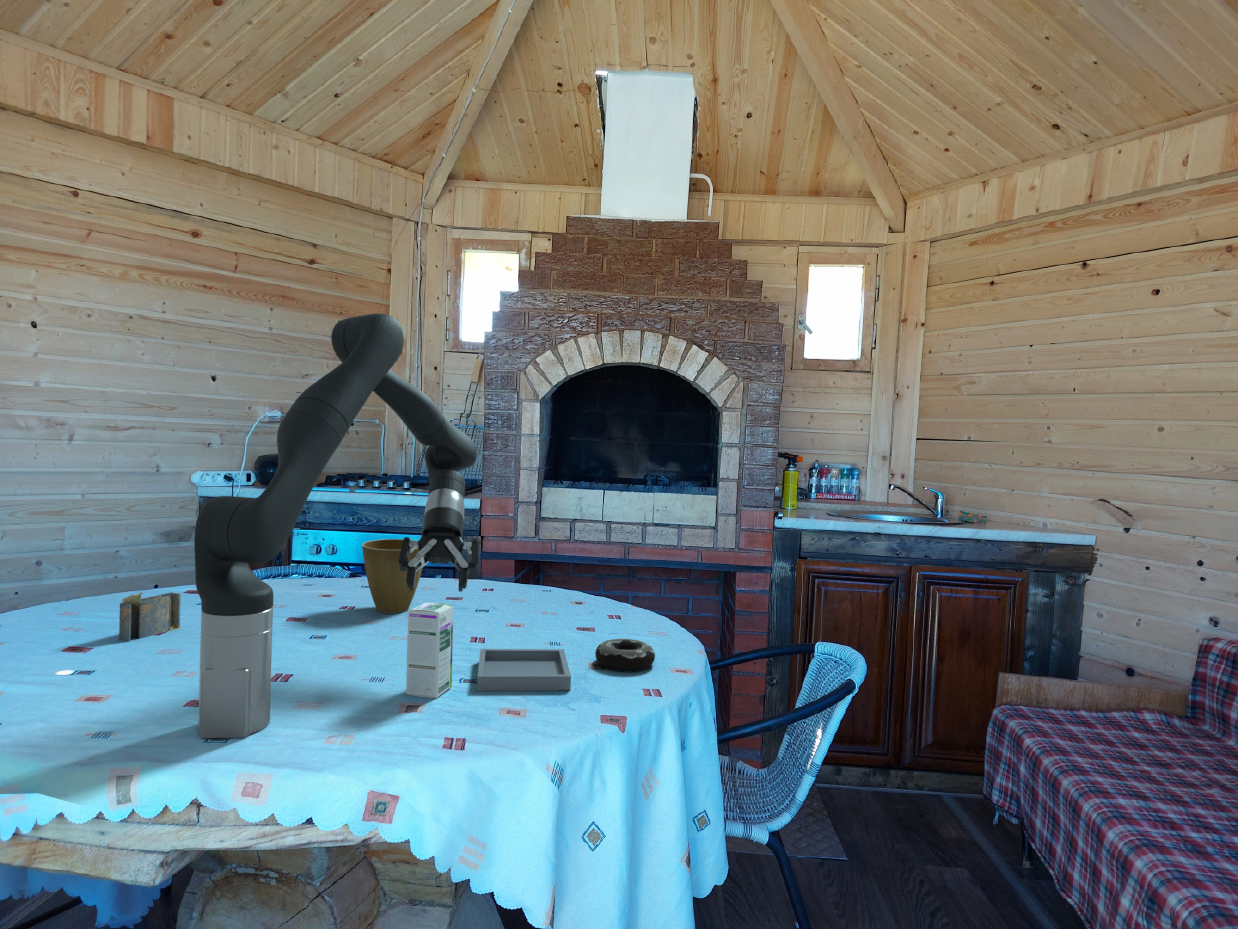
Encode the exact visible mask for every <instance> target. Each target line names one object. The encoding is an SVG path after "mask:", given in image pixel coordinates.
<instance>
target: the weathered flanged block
mask: <svg viewBox="0 0 1238 929" xmlns="http://www.w3.org/2000/svg"><path fill="white" fill-rule="evenodd" d="M142 595H143V592H140V593H138V594H137V593H136V594H131V595H129V596H127V597H124V598H122V602H120V603H119V624H118V625H119V628H118V629H119V630H118V631H119V633H118V640H119V641H122V642H127V641H128V642H131V639H132V638H135V637H138V640H141V639H144V638H148V637H151V636H155V634H156V635H159V634H162V633H161V632H163V633H167V632H170V631H174V630H177V629H178V630H179V629H180V628H181V597H182V596H181V593H180V592H179V593H178V592H172V591H171V592H167V593H162V594H156V595H153V596H152V595H151V596H148V597H147V596H146V597H143V598H142ZM158 633H159V634H158Z"/></svg>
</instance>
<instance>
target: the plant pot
mask: <svg viewBox="0 0 1238 929" xmlns="http://www.w3.org/2000/svg"><path fill="white" fill-rule="evenodd" d="M403 539H404V538H403ZM403 539H402V538H383V539H375V540H374V539H373V540H368V541H365V542H363V543H362V544H361V546H362V556H363V564H364V569H365V575H366V579H367V583H368V588H369V591H370V594H371V597H372V601H373V603H374V606H375V609H376V611H378V612H380V613H382V614H383V613H384V614H398V613H404V612H406V611H407V612H408V611H409V610H410V606H411V604H412V601H413V599H414V597H415V594H416V591H417V589H418V585H419V582H420V579H421V576H422V571H423V568H424V567H421V568H420V569H419V570H418V571H417V572H416V581H415V588H414V591H410V588H408V587H407V584H406V579H407V571H405V570H404V571H401V570H400V569H399V562H398V560H399V556H400V551H401V547H402V543H403ZM412 540H413V541H416V539H415V540H414V539H412ZM419 551H420V550H419V549H418V548H415V549H414V551H413V552H412V553H409V557H408V561H409V562H410V561H411V560H412V559H413V558H414V557H415V556H416V554H417V553H418V552H419Z"/></svg>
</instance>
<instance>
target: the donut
mask: <svg viewBox="0 0 1238 929" xmlns="http://www.w3.org/2000/svg"><path fill="white" fill-rule="evenodd" d="M595 659H596V661H597V663H598V664H600V666H601V667H604V668H606V669H608V668H609V669H608V670H611V669H614V670H613V671H616V670H619V671H618V672H625V671H631V672H638V671H637V670H640V671H644V670H647V669H648V668H650V667H651V666H652V665H653V663H654V662H655V659H656V653H655V651H654V649H653V647H652V646H651V645H649V644H648V643H646V642H644V641H641V640H638V639H632V638H611V639H607V640H605V641H602V642H601V643H600V644H599V645H598V646H597V647H596V649H595ZM643 669H644V670H643Z"/></svg>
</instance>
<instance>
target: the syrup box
mask: <svg viewBox="0 0 1238 929" xmlns="http://www.w3.org/2000/svg"><path fill="white" fill-rule="evenodd" d="M406 636H407V637H406V638H407V639H406V640H407V642H406V646H407V647H406V686H405V687H406V688H405V693H406V695H408V696H414V697H421V698H427V699H428V698H429V699H430V698H431V699H438V698H439V697H440V696H441V695H443V694H444V693H445V692H447V691H448V690H450V689H452V686H453V682H452V681H453V650H454V649H453V647H454V646H453V643H454V642H453V641H454V640H453V639H454V605H452V604H448V603H440V602H423V603H422V604H420V605H418V606H415V607H413V608H411V609H410V608H409V609H408V610H407V634H406Z"/></svg>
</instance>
